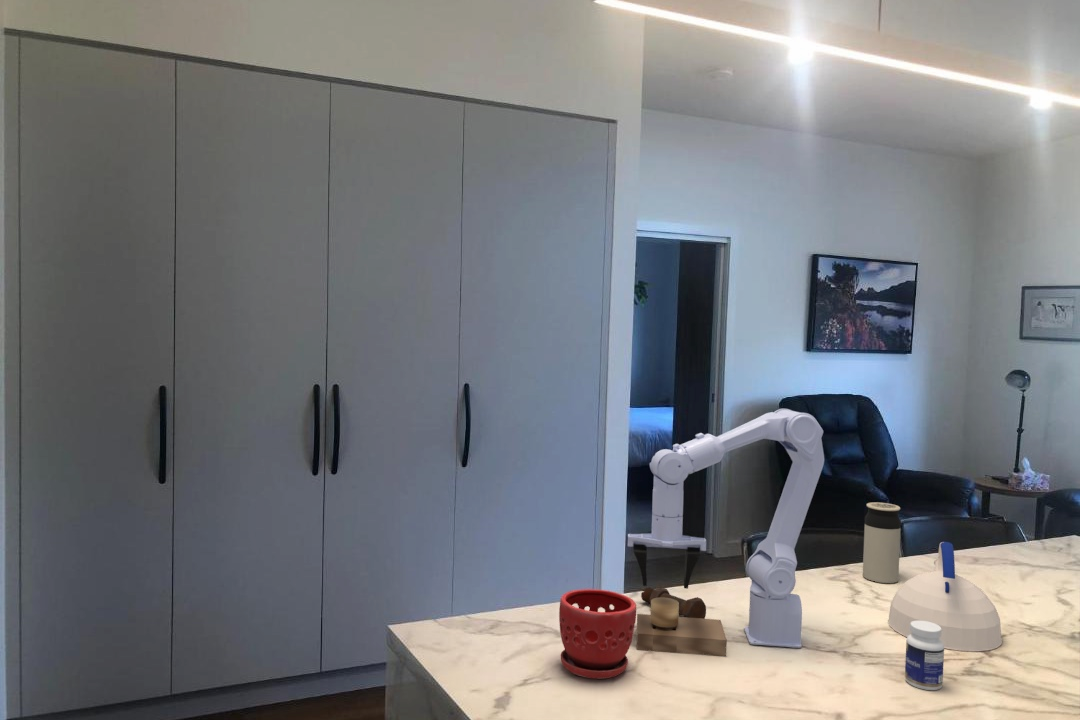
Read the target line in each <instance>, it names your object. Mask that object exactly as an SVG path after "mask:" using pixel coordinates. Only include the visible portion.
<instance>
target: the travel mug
mask: <svg viewBox="0 0 1080 720" xmlns="http://www.w3.org/2000/svg"><path fill="white" fill-rule="evenodd" d="M866 507H867V513H866V515H864V530H863V531H864V532H863V555H862V556H863V557H862V558H863V559H862V577H863V578H864V579H866V580H868V581H870V580H871V582H873V581H875V582H874V583H877V582H879V584H887V583H890V584H895V583H897V582H899V575H900V574H899V572H900V554H901V553H900V550H901V549H900V547H901V530H902V529H901V525H902V521H901V518H900V517H899V513H900V512H899V511H900V510H901V507H900V506H899V505H896V504H892V503H887V502H878V501H877V502H868V503H866Z"/></svg>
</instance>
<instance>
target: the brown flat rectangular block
mask: <svg viewBox="0 0 1080 720" xmlns="http://www.w3.org/2000/svg"><path fill="white" fill-rule="evenodd" d="M650 615H651V614H643V613H636V650H638V651H648V650H651V651H652V652H663V653H677V654H689V655H702V656H713V657H714V656H716V657H727V637H726V633H725V630H724V627H723V624H722V620H721V619H714V618H713V619H711V618H705V619H702V618H688V617H683V616H679V617H678V625H677V627H676V628H673V629H672V630H663V629H656V627H654V626H653V625H652V624H651V622H650ZM651 651H650V652H651Z"/></svg>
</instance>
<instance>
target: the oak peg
mask: <svg viewBox="0 0 1080 720" xmlns="http://www.w3.org/2000/svg"><path fill="white" fill-rule="evenodd" d="M649 615H650V622H651V624H652V625H653V626H654V627H656V629H663V630H672V629H673V628H676V627H677V625H678V617H680V615H679V602H678V601H676V600H674V599H671V598H664V597H659V598H654V599H652V600H651V604H650V614H649Z"/></svg>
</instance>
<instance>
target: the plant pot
mask: <svg viewBox="0 0 1080 720" xmlns="http://www.w3.org/2000/svg"><path fill="white" fill-rule="evenodd" d="M575 604H576V605H577V606H578V607H576V606H574V605H575ZM611 605H612V606H613V609H611V607H610V606H611ZM587 607H589V609H588V610H586V609H585V608H587ZM600 608H602V609H603V610H604V612H603V611H599V609H600ZM558 615H559V616H558V617H559V618H558V619H559V620H558V621H559V622H558V623H559V632H560V638H561V643H562V645H563V648H564V649H563V650H562V651H561V653H560V657H559V658H560V661H561V663H562V665H563V666H564V668H565V669H566V670H568V671H569V672H570V673H572V674H574V676H576V677H577V676H578V677H579V676H580V677H583V678H587V679H598V680H599V679H600V680H601V679H609V678H614V677H617V676H618V675H620V674H622V673H623V672H624V671H625V670H626V669H627V667H628V665H629V659H628V657H627V653H628V652H629V649H630V647H631V644H632V640H633V637H634V629H635V625H636V622H637V604H636V602H635V600H633V599H632V598H630V597H628V596H627V595H625V594H622V593H619V592H617V591H610V590H606V589H596V588H595V589H594V588H585V589H574V590H570V591H568V592H567V591H566V592H565V593H563V594H562V595H561V597H560V599H559V613H558Z"/></svg>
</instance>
